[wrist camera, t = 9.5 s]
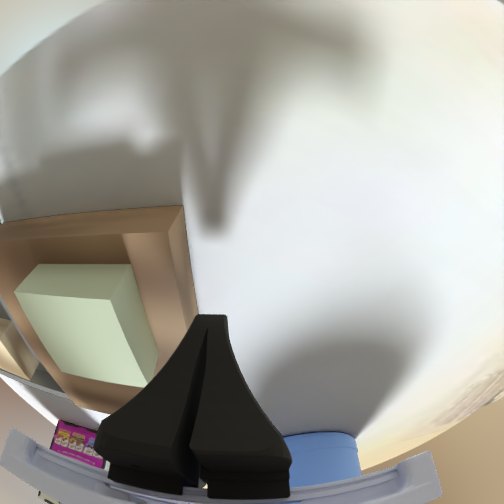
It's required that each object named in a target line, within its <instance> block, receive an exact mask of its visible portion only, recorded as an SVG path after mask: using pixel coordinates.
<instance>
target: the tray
mask: <svg viewBox="0 0 504 504" xmlns="http://www.w3.org/2000/svg"><path fill="white" fill-rule="evenodd" d="M0 225H1V223H0ZM0 318H2V319H6V320H10V321H12V322H13V324H14V325H15V327H16V329H17V330H18V332H19V334H20V335H21V337H22V338H23V340H24V342H25V343H26V345H27V346H28V348H29V349H30V351H31V352H32V354H33V355H34V357H35V358H36V359H37V361H38V362H39V364H38V366H37V368H36V370H35V372H34V374H33V376H32V378H31V380H27V379H25V378H22V377H20V376H17V375H15V374H12V373H10V372H8V371H5V370H3V369H1V368H0V374H3V375H5V376H7V377H9V378H12V379H14V380H16V381H19V382H21V383H24V384H26V385H29V386H31V387H34V388H36V389H39V390H42V391H45V392H48V393H51V394H54V395H57V396H60V397H63V398H66V399H70V398H69V397H68V396H67V395H66V393H65V392H64V391H63V390H62V389H61V387H60V386H59V385H58V384H57V382H56V381H55V380H54V379H53V377H52V376H51V375H50V373H49V372H48V371H47V370H46V368H45V367H44V365H43V364H42V363H41V361H40V360H39V358H38V357H37V356H36V354H35V353H34V351H33V350H32V348H31V347H30V345H29V344H28V342H27V341H26V339H25V338H24V336H23V334H22V333H21V331H20V329H19V328H18V326H17V324H16V323H15V321H14V319H13V317H12V316H11V314H10V312H9V310H8V308H7V306H6V305H5V303H4V301H3V299H2V297H1V295H0ZM70 400H71V399H70Z"/></svg>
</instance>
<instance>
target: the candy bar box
mask: <svg viewBox="0 0 504 504" xmlns="http://www.w3.org/2000/svg"><path fill="white" fill-rule="evenodd" d="M96 434H97V431H94V430H90V429H87V428H83V427H80V426H76V425H73V424H70V423H67V422H63V421H60V420H59V421H58V424H57V427H56V430H55V433H54V436H53V440H52V443H51V446H50V450H53V451H55V452H57V453H60V454H62V455H64V456H67V457H69V458H72V459H74V460H77V461H80V462H83V463H85V464H88V465H91V466H94V467H97V468H100V469H104V470H107V471H109V467H110V462H108V461H107V460H105V459H104V458H103V457H101V456H100V455H99V454H97V453H96V452H95V451H94V449H93V445H94V441H95V438H96ZM38 498H40V499H41V500H43V501H45V502H47V503H49V504H62V503H61V502H59V501H57V500H55V499H53V498H51V497H49V496H48V495H46V494H44V493H42V492H41V491H39V494H38Z"/></svg>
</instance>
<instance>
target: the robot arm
mask: <svg viewBox="0 0 504 504" xmlns="http://www.w3.org/2000/svg"><path fill="white" fill-rule="evenodd" d="M93 449H94V451H95V452H96V453H97V454H99V455H100V456H101V457H103V458H104V459H105V460H107V461H108V462H110V467H109V471H107V470H104V469H100V468H97V467H94V466H91V465H88V464H85V463H83V462H80V461H77V460H74V459H72V458H69V457H67V456H64V455H62V454H60V453H57V452H55V451H53V450H50V449H48V448H46V447H44V446H42V445H40V444H38V443H36V441H34V440H33V439H32V438H30V437H29V436H27V435H25V434H24V433H22V432H20V431H18V430H17V429H15V428H13V427H12V428H11V430H10V433H9V435H8V438H7V441H6V444H5V447H4V450H3V453H2V456H1V459H0V465H1V466H3V467H4V468H5V469H7V470H8V471H10V472H11V473H13V474H14V475H16V476H17V477H19V478H20V479H22V480H23V481H25V482H26V483H28V484H29V485H31V486H33V487H34V488H36V489H37V490H39V491H41V492H42V493H44V494H46V495H48V496H49V497H51V498H53V499H55V500H57V501H59V502H61V503H62V504H195V503H202V504H287V503H297V502H300V503H299V504H426V503H428V502H430V501H432V500H434V499H436V498H438V497H440V496H442V494H443V492H442V488H441V484H440V481H439V477H438V474H437V471H436V467H435V464H434V461H433V458H432V454H431V452H430V451H429V450H428V451H426V452H423V453H420V454H418V455H416V456H413V457H410V458H408V459H405V460H403V461H401V462H400V463H399V464H398V465H397V466H394V467H391V468H387V469H384V470H381V471H377V472H374V473H370V474H367V475H362V476H358V477H354V478H350V479H345V480H340V481H335V482H330V483H324V484H318V485H311V486H303V487H294V488H290V485H289V479H290V474H289V468H290V466H291V465H292V457H291V453H290V451H289V449H288V447H287V445H286V443H285V441H284V439H283V437H282V435H281V433H280V432H279V431H278V430H277V429H276V427H275V426H274V425H273V424H272V422H271V421H270V420H269V419H268V417H267V416H266V414H265V413H264V412H263V410H262V409H261V407H260V406H259V404H258V402H257V401H256V399H255V398H254V396H253V394H252V393H251V391H250V389H249V387H248V385H247V383H246V381H245V379H244V377H243V375H242V373H241V371H240V369H239V366H238V364H237V361H236V359H235V356H234V353H233V350H232V346H231V343H230V339H229V332H228V321H227V316H226V315H210V314H197V315H196V316H195V318H194V320H193V322H192V324H191V325H190V327H189V329H188V331H187V332H186V334H185V336H184V338H183V339H182V341H181V342H180V344H179V345H178V347H177V348H176V350H175V351H174V353H173V354H172V355H171V357H170V358H169V360H168V361H167V362H166V364H165V365H164V366H163V367H162V369H161V370H160V371H159V372H158V373H157V375H156V376H155V377H154V378H153V379H152V380H151V381H150V382H149V383H148V384H147V385H146V386H145V387H144V388H143V389H142V390H141V391H140V392H139V393H138V394H137V395H136V396H135V397H133V398H132V399H131V400H130V401H129V402H127V403H126V404H125V405H124V406H122V407H121V408H120V409H118V410H117V411H115V412H114V413H113V414H111V415H110V416H108V417H107V418H105V419H104V420H102V422H101V424H100V426H99V428H98V431H97V434H96V438H95V441H94V445H93ZM206 483H207V484H208V488H207V489H204V488H203V487H204V486H205V485H206Z"/></svg>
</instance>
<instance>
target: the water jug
mask: <svg viewBox="0 0 504 504" xmlns="http://www.w3.org/2000/svg"><path fill="white" fill-rule="evenodd" d="M283 439H284V441H285V443H286V445H287V447H288V449H289V451H290V453H291V457H292V465H291V466H290V468H289V474H290V479H289V485H290V488H294V487H303V486H311V485H318V484H324V483H330V482H335V481H340V480H345V479H350V478H354V477H358V476H362V473H361V468H360V464H359V459H358V454H357V452H358V449H357V445H356V441H355V439H354V438H353V437H352V436H350V435H348V434H344V433H339V432H318V433H307V434H300V435H294V436H288V437H283ZM299 503H300V502H297V503H287V504H299Z"/></svg>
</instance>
